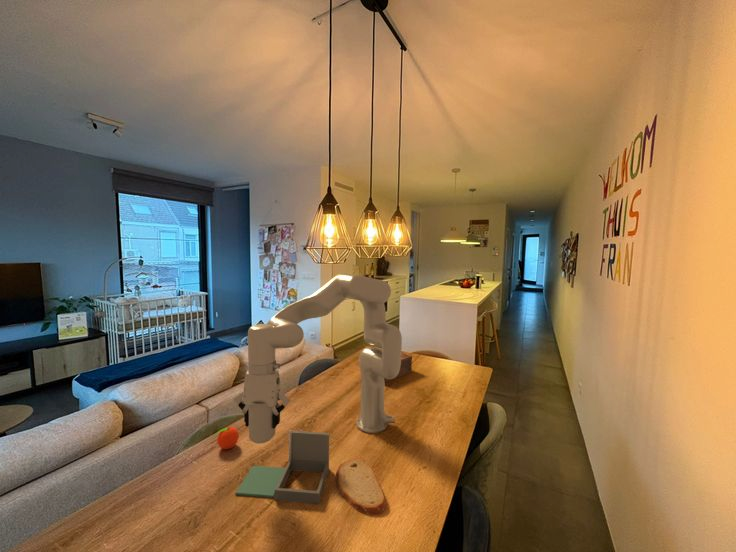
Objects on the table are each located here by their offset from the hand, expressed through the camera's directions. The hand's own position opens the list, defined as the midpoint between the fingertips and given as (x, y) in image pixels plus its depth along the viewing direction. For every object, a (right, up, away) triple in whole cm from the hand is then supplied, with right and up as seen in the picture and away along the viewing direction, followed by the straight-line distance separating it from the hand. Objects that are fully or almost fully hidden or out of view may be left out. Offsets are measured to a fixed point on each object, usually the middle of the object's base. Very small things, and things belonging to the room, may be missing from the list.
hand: (262, 424), depth 90 cm
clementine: (-18, -16, +17) cm, 30 cm away
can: (0, -4, 0) cm, 4 cm away
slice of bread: (+29, -19, +1) cm, 35 cm away
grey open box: (+12, -18, +1) cm, 22 cm away
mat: (0, -18, +1) cm, 18 cm away
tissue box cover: (+43, -13, +85) cm, 95 cm away
